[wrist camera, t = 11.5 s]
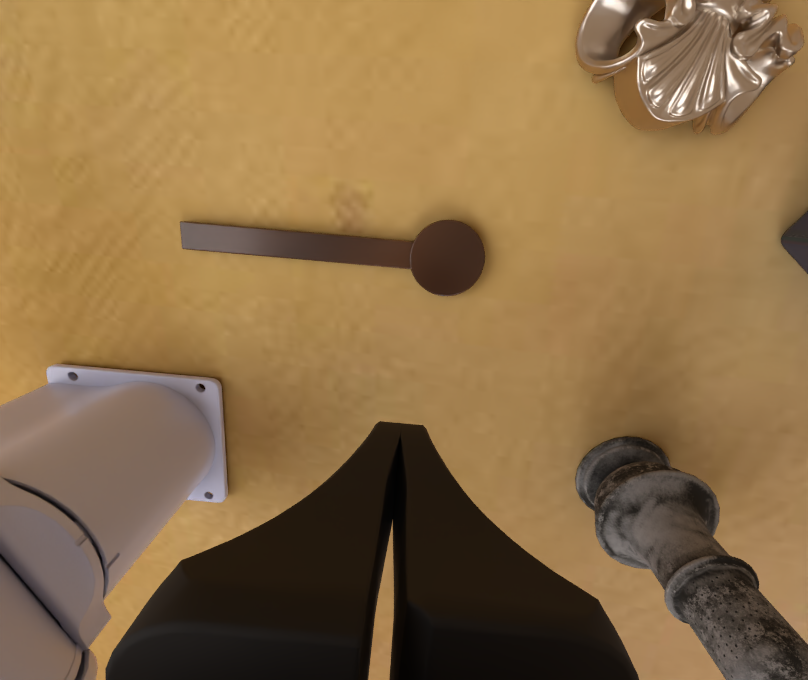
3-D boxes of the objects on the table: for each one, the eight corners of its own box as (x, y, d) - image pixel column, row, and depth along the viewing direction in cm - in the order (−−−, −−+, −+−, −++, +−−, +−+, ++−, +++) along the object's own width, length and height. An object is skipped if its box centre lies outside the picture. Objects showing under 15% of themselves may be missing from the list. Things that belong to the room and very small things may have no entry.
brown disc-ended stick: (188, 271, 20) (181, 272, 20) (181, 196, 19) (174, 195, 19) (477, 296, 20) (479, 299, 20) (488, 223, 19) (490, 223, 19)
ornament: (804, 1, 16) (910, -57, 13) (701, 171, 18) (768, 161, 15) (631, -93, 15) (693, -182, 12) (544, 94, 17) (575, 65, 14)
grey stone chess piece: (556, 508, 24) (684, 780, 12) (589, 422, 22) (774, 646, 11) (651, 526, 24) (864, 811, 13) (691, 443, 22) (982, 685, 11)
